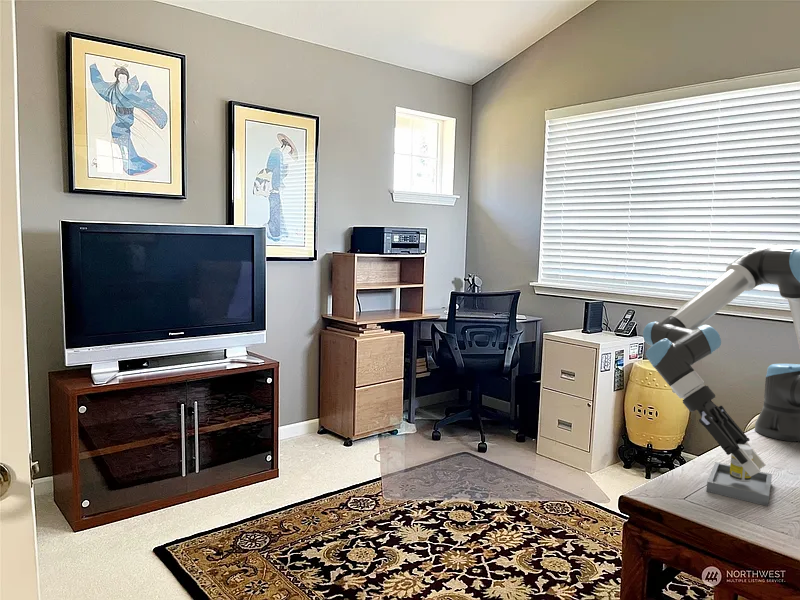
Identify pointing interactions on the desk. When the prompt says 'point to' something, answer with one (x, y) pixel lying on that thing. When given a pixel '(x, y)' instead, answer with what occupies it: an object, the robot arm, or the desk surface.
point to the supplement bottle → (736, 469)
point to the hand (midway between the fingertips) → (758, 470)
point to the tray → (739, 485)
